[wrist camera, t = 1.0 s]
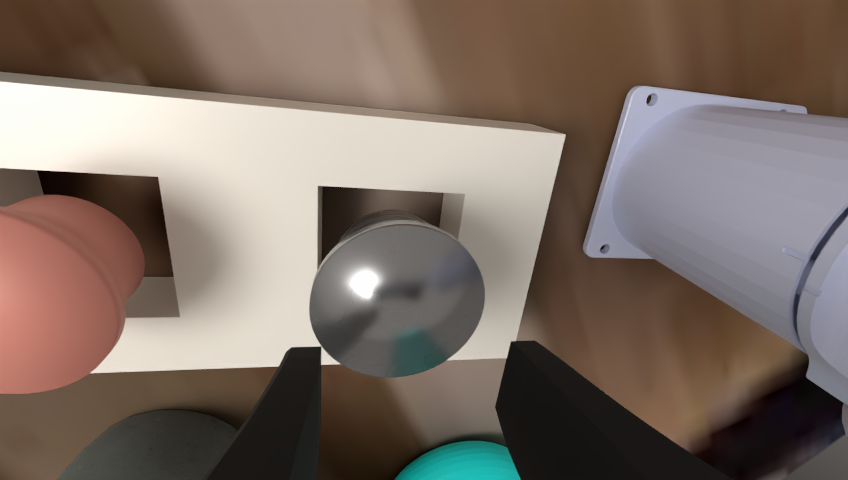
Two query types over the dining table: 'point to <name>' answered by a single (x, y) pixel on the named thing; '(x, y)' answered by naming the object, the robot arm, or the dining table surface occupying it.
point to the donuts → (463, 463)
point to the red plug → (61, 290)
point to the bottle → (154, 448)
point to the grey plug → (395, 296)
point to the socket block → (275, 203)
